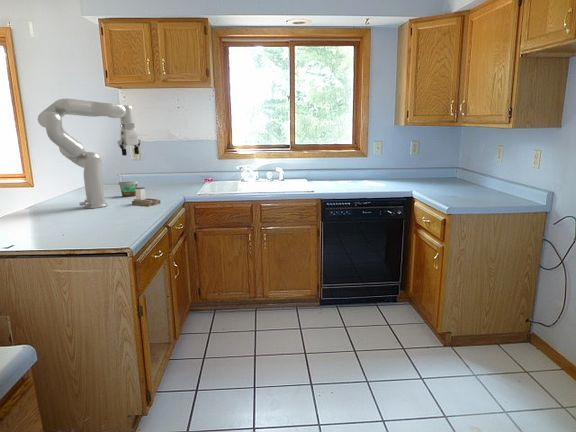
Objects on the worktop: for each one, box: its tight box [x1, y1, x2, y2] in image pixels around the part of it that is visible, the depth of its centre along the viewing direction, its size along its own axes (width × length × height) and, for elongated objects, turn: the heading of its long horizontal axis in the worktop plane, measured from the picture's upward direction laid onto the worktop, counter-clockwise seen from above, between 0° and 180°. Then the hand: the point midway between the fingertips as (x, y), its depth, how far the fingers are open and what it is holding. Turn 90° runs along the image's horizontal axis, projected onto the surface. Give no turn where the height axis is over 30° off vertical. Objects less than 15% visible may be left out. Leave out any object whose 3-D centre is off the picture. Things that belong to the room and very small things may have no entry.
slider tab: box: [135, 186, 147, 200], centre depth 251 cm, size 4×4×7 cm
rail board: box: [131, 197, 162, 207], centre depth 250 cm, size 9×14×3 cm, turn 63°
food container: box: [118, 180, 139, 198], centre depth 276 cm, size 12×6×10 cm, turn 105°
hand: (130, 154), depth 257 cm, fingers open, 9 cm apart
